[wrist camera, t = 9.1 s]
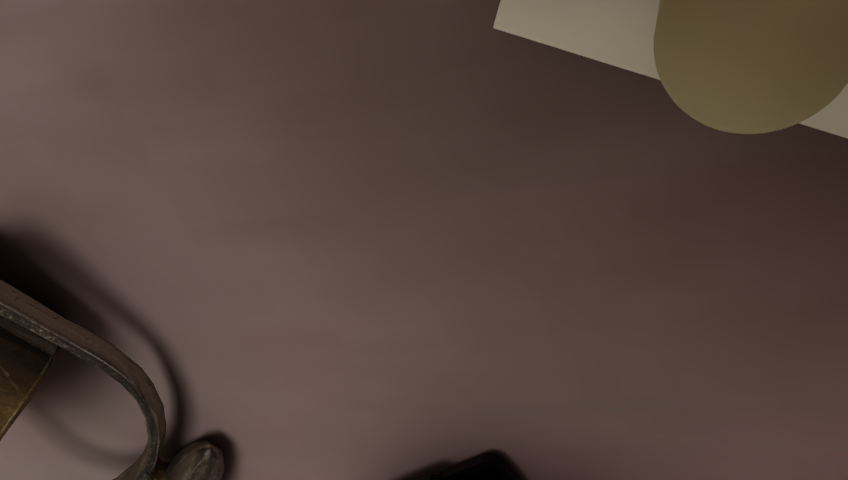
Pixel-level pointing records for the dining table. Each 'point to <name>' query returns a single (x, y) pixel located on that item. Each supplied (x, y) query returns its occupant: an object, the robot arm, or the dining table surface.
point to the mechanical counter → (47, 332)
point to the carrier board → (711, 53)
